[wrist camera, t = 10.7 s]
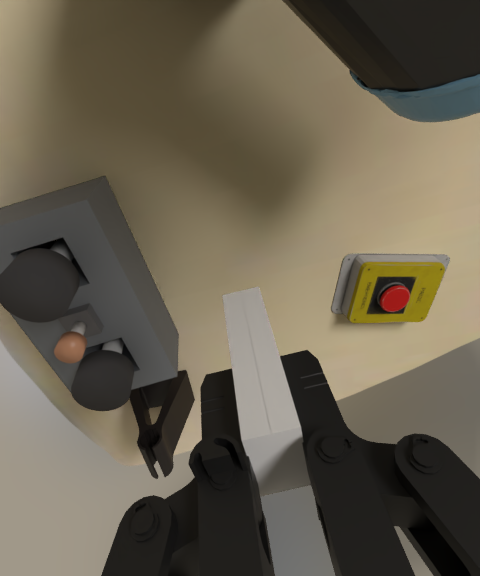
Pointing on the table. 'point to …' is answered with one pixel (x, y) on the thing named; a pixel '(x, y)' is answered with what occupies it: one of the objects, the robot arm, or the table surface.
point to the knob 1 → (40, 283)
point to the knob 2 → (104, 378)
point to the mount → (95, 278)
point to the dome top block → (77, 332)
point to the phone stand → (162, 419)
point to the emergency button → (388, 286)
